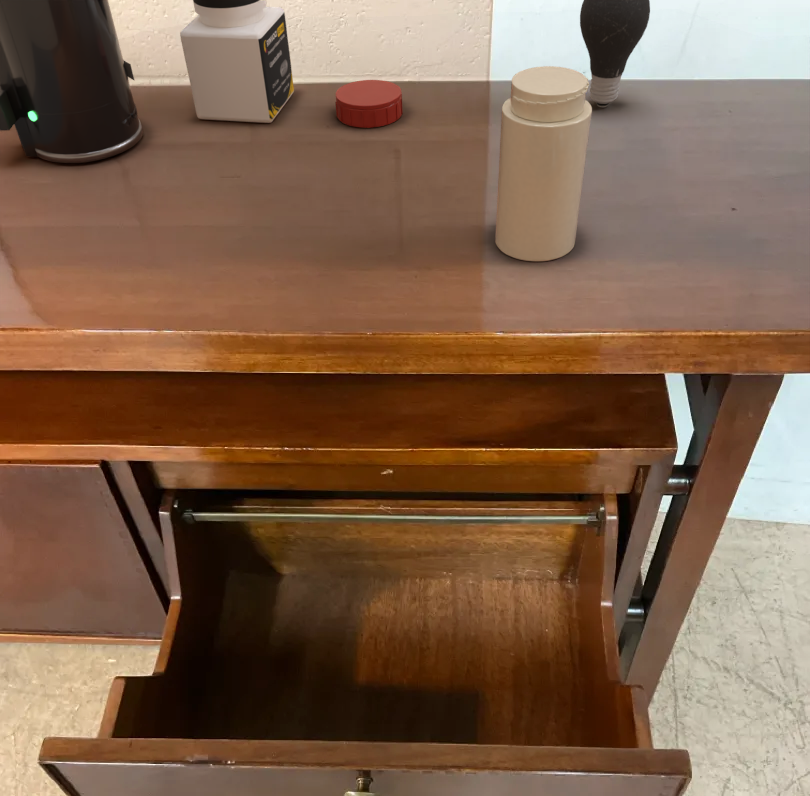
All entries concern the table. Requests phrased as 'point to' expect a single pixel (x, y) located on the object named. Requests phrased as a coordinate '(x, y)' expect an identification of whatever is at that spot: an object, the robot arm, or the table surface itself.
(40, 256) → the table surface
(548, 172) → the jar
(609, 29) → the light bulb
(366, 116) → the lid
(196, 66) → the medicine bottle
